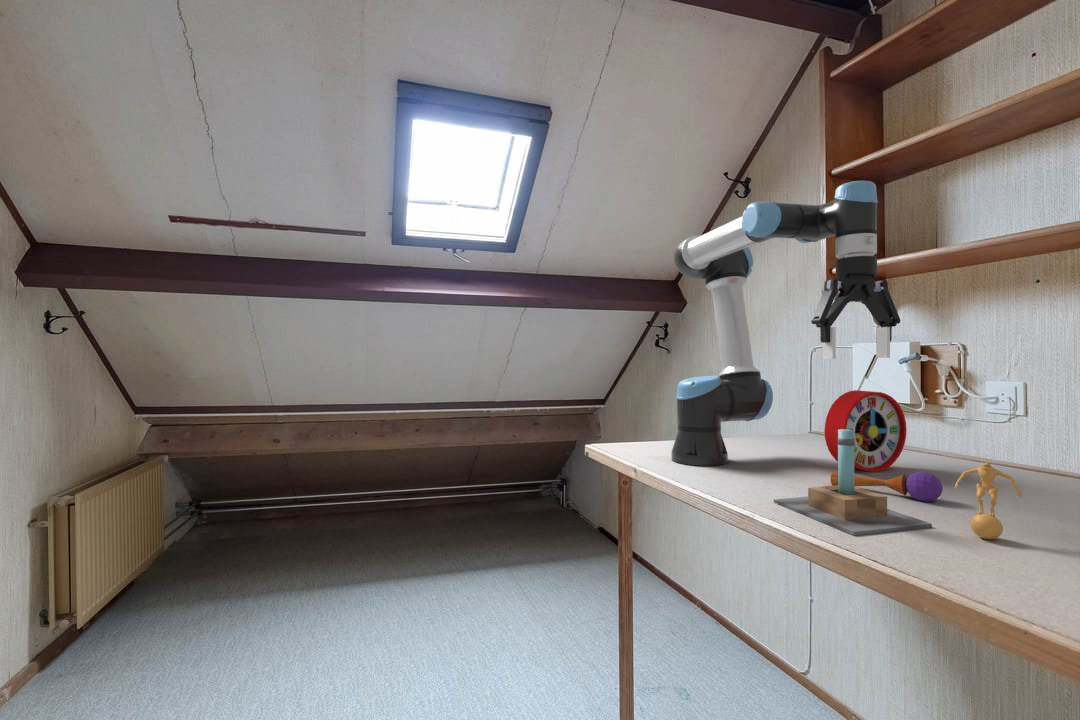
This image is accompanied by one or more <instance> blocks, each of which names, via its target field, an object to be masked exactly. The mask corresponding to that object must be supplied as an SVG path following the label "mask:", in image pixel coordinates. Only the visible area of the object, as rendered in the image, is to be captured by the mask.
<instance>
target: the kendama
mask: <svg viewBox="0 0 1080 720" xmlns="http://www.w3.org/2000/svg"><path fill="white" fill-rule="evenodd" d="M830 484H831V486H834V485H838V471H832V472H831V474H830ZM854 487H887V488H889V489H891V490H892V491H896V492H897V493H900V494H901V495H903V496H907V494H908V495H910V496H911V497H912V498H913V499H915V500H917V501H920V502H925V503H926V502H927V503H929V502H933V501H936V500H937V499H938V498H939V497H941V495H942V493H943V490H944V489H943V484H942V482H941V480H940V479H939V478H938V477H937V476H935V475H934V474H933V473H930V472H929V471H917V472H913V473H911V474H910V475H909V476H908V477H907V475H906V474H902V475H898V476H895V477H892V478H890V479H887V480H882V479H877V478H872V477H867V476H866V477H865V476H861V475H856V474H854Z"/></svg>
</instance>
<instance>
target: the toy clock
mask: <svg viewBox="0 0 1080 720" xmlns="http://www.w3.org/2000/svg"><path fill="white" fill-rule="evenodd" d="M824 421H825V422H824V430H823V431H824V440H825V444H826V447H827V449H828V451H829V453H830V455H831V456H832V457H833V458H834V459H835V461H836V462H838V430H840V429H847V430H854V438H855V445H854V469H856V470H861V471H865V472H868V473H869V472H870V473H877V472H883V471H884V470H886V469H888V468H890V467H892V465H893V464H895V463H896V461H897V460H898V458H899V457H900V455H901V454H902V452H903V449H904V447H905V443H906V440H907V430H908V429H907V422H906V416H905V414H904V411H903V408H901V405H900V404H899V403H898V401H897V400H896V399H895V398H894V397H892V396H891V395H889V394H887V393H885V392H882V391H869V390H857V389H855V390H849V391H847V392H845V393H843V394H840V396H839V397H838V398H836V399H835V400H834V402H833V403H831V406H830V407H829V409H828V412H827V414H826V417H825V420H824Z"/></svg>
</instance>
